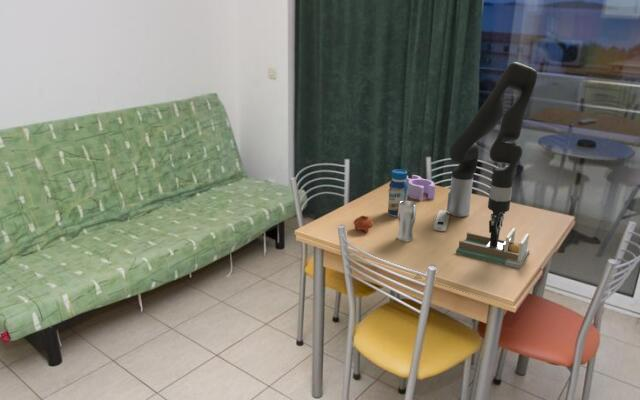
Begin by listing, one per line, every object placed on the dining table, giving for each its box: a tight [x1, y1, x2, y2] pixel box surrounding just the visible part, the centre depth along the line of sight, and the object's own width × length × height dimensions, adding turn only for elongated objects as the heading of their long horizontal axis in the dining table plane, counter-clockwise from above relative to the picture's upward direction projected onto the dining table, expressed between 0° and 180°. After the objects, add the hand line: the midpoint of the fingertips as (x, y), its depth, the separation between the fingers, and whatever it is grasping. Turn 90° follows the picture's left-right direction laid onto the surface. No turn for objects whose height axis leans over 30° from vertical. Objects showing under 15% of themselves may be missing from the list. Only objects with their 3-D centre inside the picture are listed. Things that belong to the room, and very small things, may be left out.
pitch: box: [455, 227, 530, 269], centre depth 194 cm, size 23×16×10 cm
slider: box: [486, 225, 511, 250], centre depth 193 cm, size 7×7×10 cm
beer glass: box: [397, 200, 417, 243], centre depth 205 cm, size 7×7×15 cm
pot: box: [353, 215, 374, 234], centre depth 214 cm, size 8×8×7 cm
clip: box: [406, 174, 436, 202], centre depth 258 cm, size 20×12×7 cm, turn 18°
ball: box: [509, 244, 520, 254], centre depth 191 cm, size 4×4×4 cm
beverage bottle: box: [387, 168, 408, 218], centre depth 230 cm, size 8×8×20 cm
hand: (494, 240), depth 194 cm, fingers closed on slider, 2 cm apart
